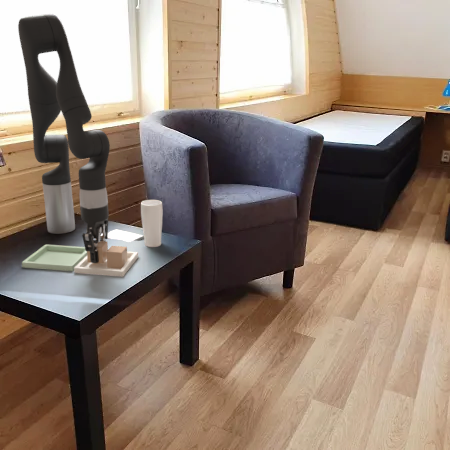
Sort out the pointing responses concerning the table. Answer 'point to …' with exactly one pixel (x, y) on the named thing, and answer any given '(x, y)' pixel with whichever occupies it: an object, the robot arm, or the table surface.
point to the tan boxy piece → (100, 252)
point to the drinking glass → (152, 222)
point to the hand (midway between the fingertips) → (98, 258)
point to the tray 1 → (56, 257)
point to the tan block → (116, 257)
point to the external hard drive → (124, 235)
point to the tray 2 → (105, 266)
